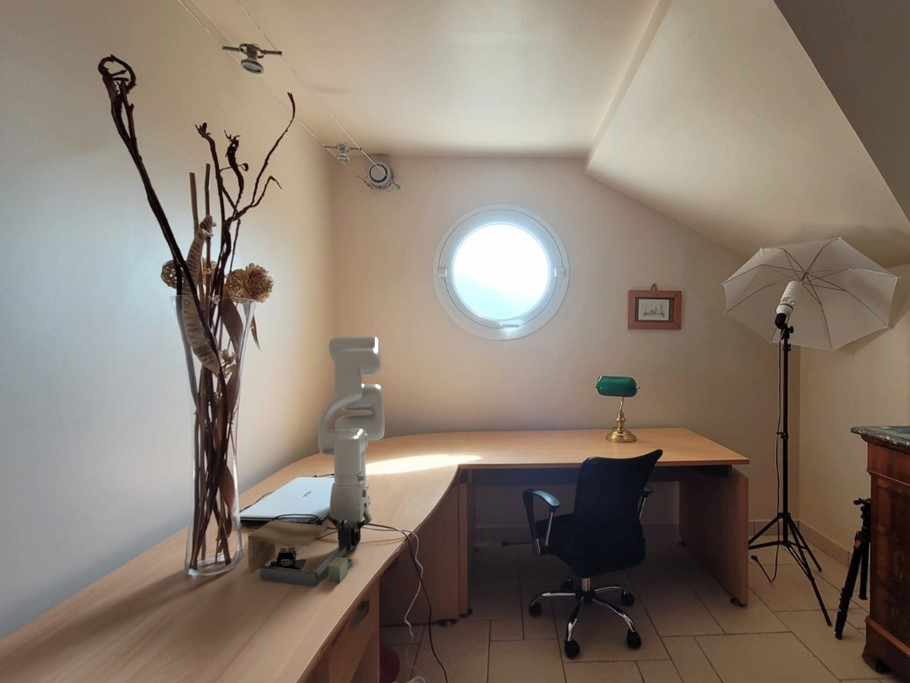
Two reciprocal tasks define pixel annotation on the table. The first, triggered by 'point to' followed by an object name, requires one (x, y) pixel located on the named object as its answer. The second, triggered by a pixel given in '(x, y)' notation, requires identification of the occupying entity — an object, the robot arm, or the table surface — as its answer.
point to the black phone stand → (285, 563)
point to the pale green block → (339, 569)
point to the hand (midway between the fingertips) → (349, 542)
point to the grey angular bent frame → (316, 576)
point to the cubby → (278, 540)
